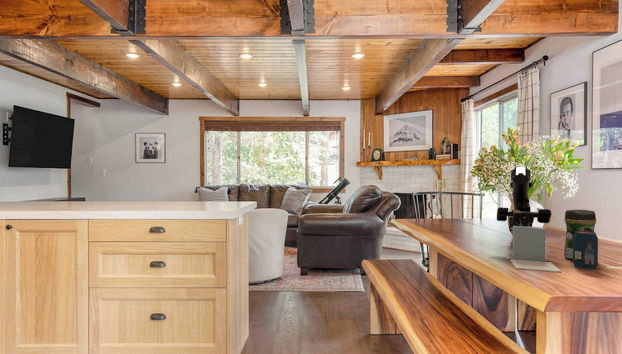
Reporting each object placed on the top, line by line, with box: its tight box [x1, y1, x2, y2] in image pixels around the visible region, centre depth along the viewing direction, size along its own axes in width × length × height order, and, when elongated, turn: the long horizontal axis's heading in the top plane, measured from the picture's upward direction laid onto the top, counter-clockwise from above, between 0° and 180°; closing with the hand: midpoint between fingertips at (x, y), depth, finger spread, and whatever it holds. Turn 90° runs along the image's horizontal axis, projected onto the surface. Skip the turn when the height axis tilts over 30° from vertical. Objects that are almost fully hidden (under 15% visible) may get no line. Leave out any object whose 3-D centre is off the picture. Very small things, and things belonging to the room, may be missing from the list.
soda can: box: [572, 231, 599, 271], centre depth 134 cm, size 7×7×12 cm
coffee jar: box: [563, 209, 597, 261], centre depth 148 cm, size 10×8×19 cm
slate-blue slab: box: [511, 226, 546, 262], centre depth 146 cm, size 4×10×12 cm, turn 71°
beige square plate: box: [509, 258, 562, 273], centre depth 135 cm, size 14×13×1 cm
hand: (525, 231), depth 152 cm, fingers closed
